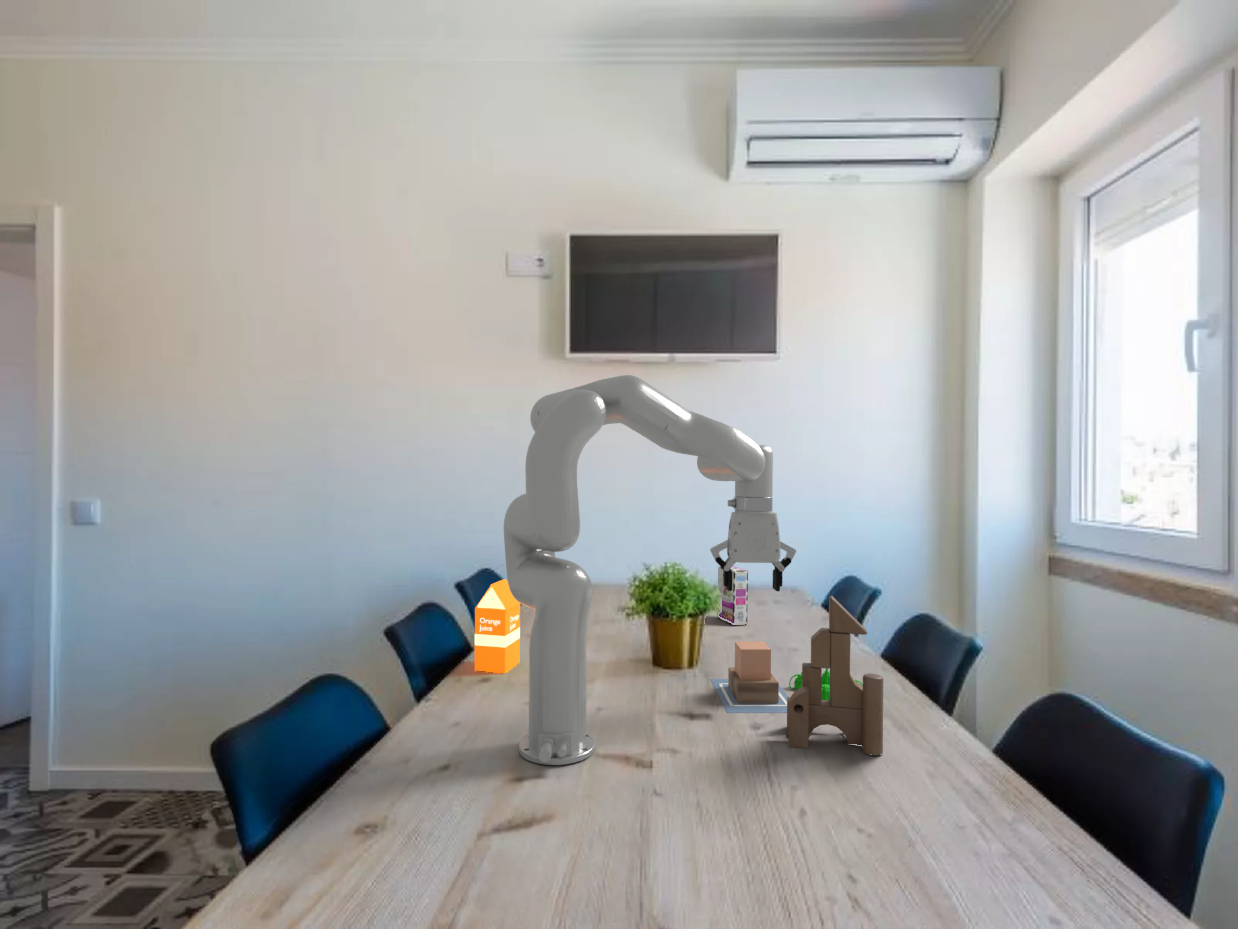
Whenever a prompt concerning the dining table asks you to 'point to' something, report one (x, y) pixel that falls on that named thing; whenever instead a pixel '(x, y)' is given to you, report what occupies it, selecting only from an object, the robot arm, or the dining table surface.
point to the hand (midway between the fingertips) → (752, 590)
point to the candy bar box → (734, 595)
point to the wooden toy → (837, 689)
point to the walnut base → (753, 689)
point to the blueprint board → (735, 707)
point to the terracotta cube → (753, 661)
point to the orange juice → (497, 630)
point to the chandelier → (825, 687)
